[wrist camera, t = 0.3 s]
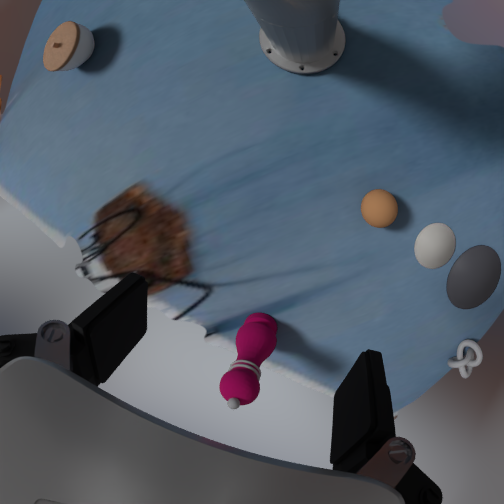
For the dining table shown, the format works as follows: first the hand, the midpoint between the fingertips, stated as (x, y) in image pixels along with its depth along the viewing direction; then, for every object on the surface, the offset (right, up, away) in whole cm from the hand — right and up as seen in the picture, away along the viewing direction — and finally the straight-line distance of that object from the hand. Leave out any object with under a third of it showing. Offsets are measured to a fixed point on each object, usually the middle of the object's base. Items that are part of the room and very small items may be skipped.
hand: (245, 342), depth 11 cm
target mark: (+41, -1, +28) cm, 50 cm away
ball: (+18, +10, +26) cm, 33 cm away
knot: (+45, -18, +35) cm, 59 cm away
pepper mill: (+2, -10, +42) cm, 43 cm away
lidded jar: (-34, +45, +28) cm, 63 cm away
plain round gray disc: (+30, +5, +28) cm, 42 cm away
